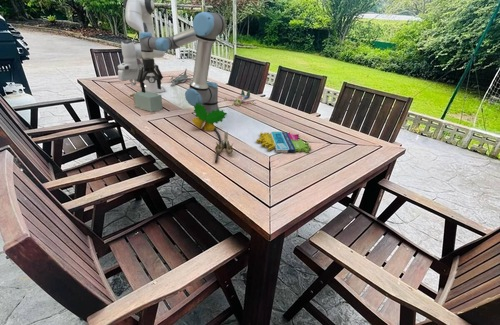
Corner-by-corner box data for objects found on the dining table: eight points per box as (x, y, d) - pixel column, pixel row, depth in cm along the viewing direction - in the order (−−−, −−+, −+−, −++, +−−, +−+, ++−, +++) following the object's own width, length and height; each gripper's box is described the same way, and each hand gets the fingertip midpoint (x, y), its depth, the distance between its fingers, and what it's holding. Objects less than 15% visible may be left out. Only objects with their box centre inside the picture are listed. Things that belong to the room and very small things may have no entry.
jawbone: (234, 135, 144) (233, 125, 135) (233, 160, 138) (232, 151, 129) (217, 135, 144) (216, 125, 135) (216, 160, 138) (214, 150, 129)
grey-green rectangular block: (135, 107, 192) (133, 93, 187) (146, 104, 199) (144, 90, 194) (151, 112, 184) (150, 97, 179) (162, 108, 192) (161, 95, 187)
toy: (261, 91, 228) (254, 99, 202) (261, 99, 231) (253, 108, 205) (231, 87, 233) (220, 95, 207) (230, 95, 236) (219, 104, 210)
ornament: (218, 133, 171) (224, 110, 169) (221, 134, 163) (227, 111, 161) (186, 125, 162) (192, 101, 160) (189, 126, 155) (195, 101, 153)
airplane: (161, 78, 276) (160, 68, 271) (190, 77, 289) (190, 67, 284) (170, 88, 248) (168, 77, 243) (201, 85, 261) (201, 75, 256)
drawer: (129, 103, 195) (127, 92, 191) (139, 101, 202) (137, 90, 198) (149, 109, 185) (148, 98, 181) (159, 107, 192) (158, 95, 188)
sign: (313, 150, 142) (258, 149, 139) (312, 153, 143) (258, 152, 140) (301, 132, 164) (254, 130, 161) (301, 134, 165) (254, 133, 162)
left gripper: (140, 63, 193) (142, 82, 200) (115, 66, 178) (118, 86, 185) (146, 64, 191) (148, 83, 197) (121, 67, 175) (124, 88, 182)
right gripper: (158, 56, 184) (161, 86, 194) (127, 59, 165) (132, 92, 175) (166, 57, 180) (169, 88, 191) (135, 60, 161) (140, 94, 172)
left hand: (134, 85), depth 191 cm, fingers closed
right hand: (151, 90), depth 183 cm, fingers open, 13 cm apart
